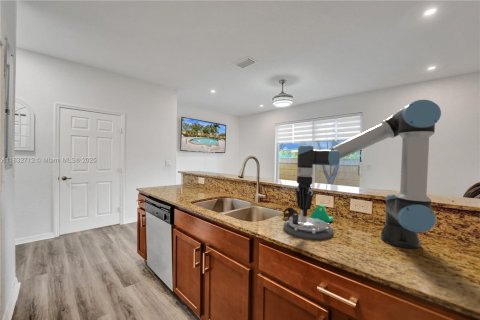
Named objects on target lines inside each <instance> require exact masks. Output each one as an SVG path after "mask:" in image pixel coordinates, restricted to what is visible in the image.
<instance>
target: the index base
mask: <svg viewBox="0 0 480 320" xmlns="http://www.w3.org/2000/svg"><path fill="white" fill-rule="evenodd" d="M328 228H329V232H322V233H315V234H312V233H309V232H302V231H296V230H295V229H293V228H291V227H290V226H287V225H286V221H285V222H284V223H283V230H284V231H285V232H286V233H287V234H289V235H290V236H294V237H297V238H301V239H306V240H313V241H314V240H316V241H317V240H319V241H320V240H321V241H322V240H327V239H330V238H332V237H333V236H334V228H332V227H331V226H330V225H329V227H328Z"/></svg>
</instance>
